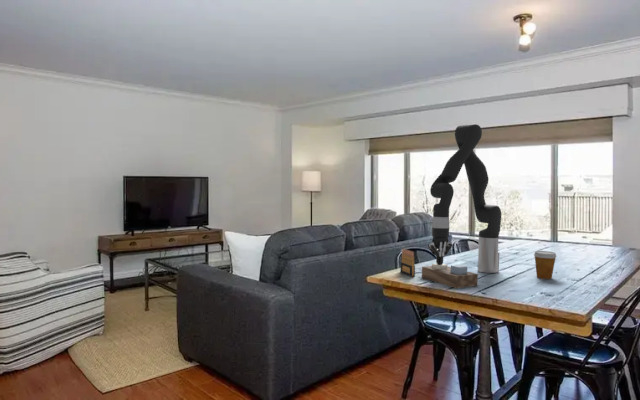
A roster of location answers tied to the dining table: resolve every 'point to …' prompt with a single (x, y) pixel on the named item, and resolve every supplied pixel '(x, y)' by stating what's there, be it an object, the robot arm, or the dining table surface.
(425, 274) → the key panel
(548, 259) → the disposable coffee cup
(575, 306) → the dining table surface
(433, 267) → the cream key
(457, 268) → the slate key
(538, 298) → the dining table surface
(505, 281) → the dining table surface
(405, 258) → the wooden panel with frame
